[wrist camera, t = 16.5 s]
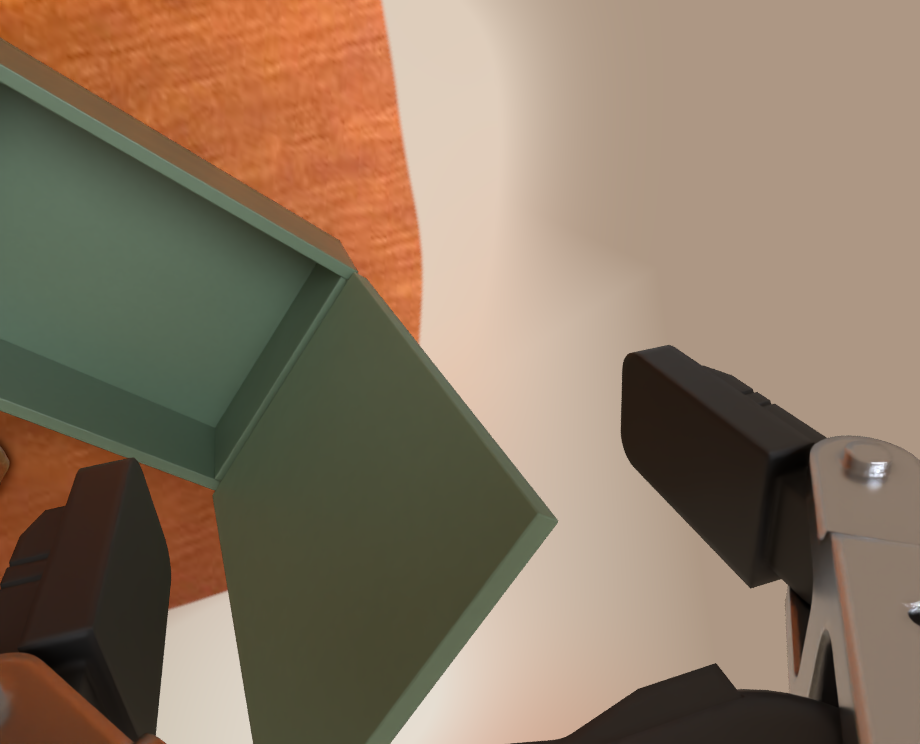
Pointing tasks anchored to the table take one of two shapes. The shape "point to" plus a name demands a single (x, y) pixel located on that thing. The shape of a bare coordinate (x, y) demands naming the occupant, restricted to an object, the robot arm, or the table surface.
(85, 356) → the chess box
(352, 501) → the box lid
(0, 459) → the pastry
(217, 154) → the table surface
